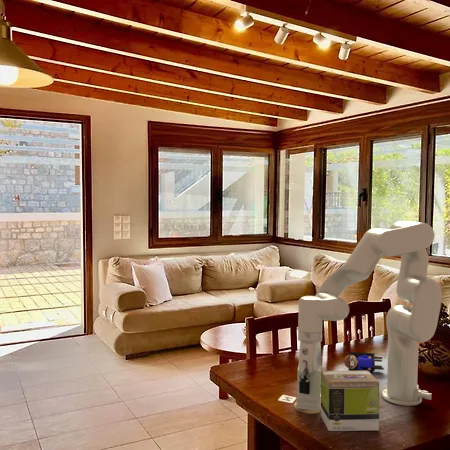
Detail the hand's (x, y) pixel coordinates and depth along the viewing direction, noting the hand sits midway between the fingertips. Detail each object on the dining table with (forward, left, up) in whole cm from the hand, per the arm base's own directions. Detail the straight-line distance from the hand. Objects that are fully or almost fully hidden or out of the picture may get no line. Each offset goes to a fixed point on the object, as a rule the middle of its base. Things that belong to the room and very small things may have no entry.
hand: (308, 388), depth 153 cm
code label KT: (+1, -10, -6) cm, 12 cm away
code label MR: (+8, -3, -6) cm, 11 cm away
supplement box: (0, 0, -6) cm, 6 cm away
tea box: (-14, +5, -7) cm, 16 cm away
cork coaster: (0, 0, -6) cm, 6 cm away
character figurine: (-10, -43, -7) cm, 44 cm away
